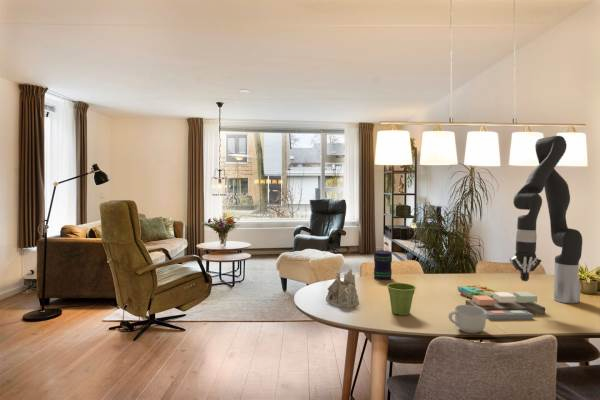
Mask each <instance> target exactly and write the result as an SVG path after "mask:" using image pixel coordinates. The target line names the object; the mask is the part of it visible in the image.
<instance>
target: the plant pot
mask: <svg viewBox="0 0 600 400" xmlns="http://www.w3.org/2000/svg"><path fill="white" fill-rule="evenodd" d="M386 287H387V289H388V294H389V302H390V308H391V313H392V314H394V315H399V316H407V315H409V314H410V313H411V308H412V303H413V298H414V297H413V296H414V294H415V291H416V290H417V287H416V286H415V285H414V284H411V283H410V284H409V283H405V282H391V283H388V284H386Z"/></svg>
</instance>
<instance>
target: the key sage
mask: <svg viewBox="0 0 600 400" xmlns="http://www.w3.org/2000/svg"><path fill="white" fill-rule="evenodd" d="M512 295H514V296H516V300H519V301H521V302H534V303H537V302H538V295H536V294H533V293H532V292H529V291H513V293H512Z"/></svg>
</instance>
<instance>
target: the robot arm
mask: <svg viewBox="0 0 600 400" xmlns="http://www.w3.org/2000/svg"><path fill="white" fill-rule="evenodd" d="M534 146H535V153H536V157H537V161H538V165H537V166H536V167H535V168H533V169H532V170H531V172H530V173H529V175H528V177H527V179H526V181H525V184H524V185H523V186H522V187H521V188H520V189H519V190H518V191H517V192H516V194H515V195H514V198H513V205H514V208H516V209H518V210H523V211H524V210H525V211H526V210H527V211H528V213H527V214H523V215H519V216H518V217H517V224H516V228H517V229H516V236H515V237H516V238H515V254H514V256H513V257H512V258H509V261H510V263H511V265H513V267H514V268H515V269H516V271H520V280H521V281H523V282H528V280H529V279H530V272H534V271H535V270H536V268H537V267H538V266H539V265H540V264H541V263H542V259H539V257H537V255H536V252H537V220H538V217H539V213H540V211H541V208H542V205H543V198H542V196H541V195H540V194H541V193H542V192H543V190H544V194H545V199H546V203H547V204H546V205H547V208H548V214H549V223H550V236H551V237H550V238H551V241H552V243H553V244H554V245H555V246H556V247H558V248H561V253H560V254H559V255H555V257H554V272H553V273H554V279H553V281H554V285H553V300H554V301H556V302H559V303H563V304H577V303H581V281H580V280H579V272H580V271H579V265H580V260H581V258H582V252H583V251H582V250H583V236H582V233H581V232H580V231H579V230H577V229H576V228H569V227H568V224H567V218H566V216H567V215H566V214H567V211H568V208H569V206H570V203H571V194H570V193H571V192H570V188H569V184H568V183H567V181H566V179H564V177H562V175H561V174H560V173H558V171H557V170H556V168H555V167H556V166H557V165H558V163H559V162H560V160H561V159H562V158H563V156H564V155H565V153H566V150H567V141H566V139H565V138H564V136H562V135H552V136H546V137H542V138H539V139H537V140H536V142H535V145H534Z"/></svg>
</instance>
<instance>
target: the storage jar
mask: <svg viewBox="0 0 600 400" xmlns="http://www.w3.org/2000/svg"><path fill="white" fill-rule="evenodd" d="M373 253H374V254H373V261H374V268H373V278H374V279H375V280H378V281H391V280H392V274H393V273H392V261H393V257H392V254H393V253H392V251H391V250H375V251H373Z"/></svg>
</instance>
